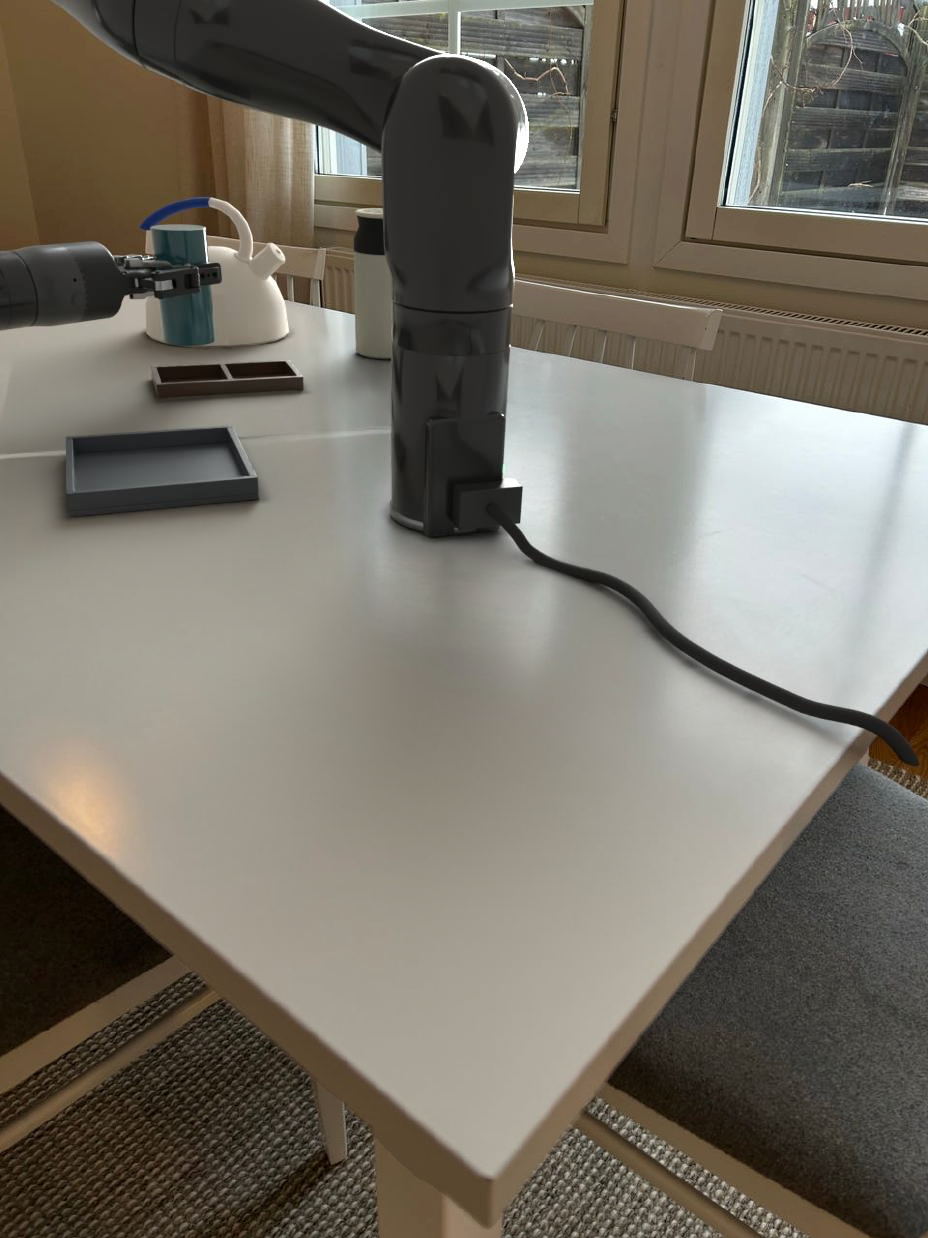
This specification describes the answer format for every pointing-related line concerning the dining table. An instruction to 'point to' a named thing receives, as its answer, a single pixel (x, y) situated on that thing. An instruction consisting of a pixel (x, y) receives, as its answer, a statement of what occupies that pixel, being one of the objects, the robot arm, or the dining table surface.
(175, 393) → the tray
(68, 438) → the tray
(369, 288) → the travel mug
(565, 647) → the dining table surface
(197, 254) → the teal cylinder
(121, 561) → the dining table surface
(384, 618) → the dining table surface
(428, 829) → the dining table surface
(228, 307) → the kettle
